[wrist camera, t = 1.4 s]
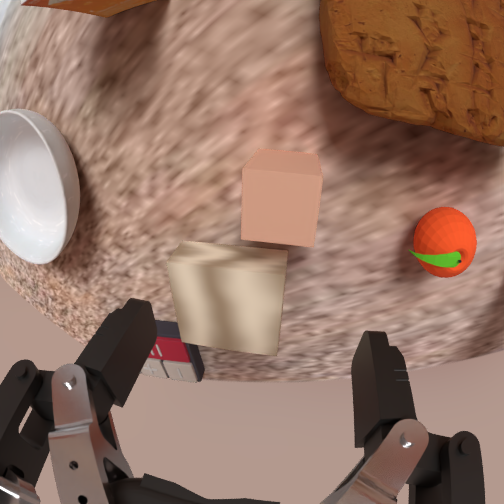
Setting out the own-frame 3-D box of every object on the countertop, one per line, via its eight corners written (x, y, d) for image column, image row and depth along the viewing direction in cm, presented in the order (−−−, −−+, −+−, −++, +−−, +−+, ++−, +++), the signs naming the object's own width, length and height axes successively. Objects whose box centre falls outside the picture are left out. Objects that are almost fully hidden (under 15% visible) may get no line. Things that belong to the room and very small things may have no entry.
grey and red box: (200, 386, 42) (121, 373, 44) (206, 365, 46) (130, 356, 48) (184, 340, 37) (96, 329, 39) (192, 319, 41) (108, 312, 43)
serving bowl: (22, 233, 38) (-4, 254, 32) (2, 113, 27) (-31, 125, 21) (111, 250, 36) (82, 279, 30) (95, 88, 25) (53, 94, 19)
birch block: (288, 248, 32) (285, 275, 27) (280, 327, 38) (276, 356, 33) (183, 239, 33) (166, 262, 29) (193, 316, 39) (181, 341, 35)
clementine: (394, 257, 29) (411, 297, 23) (397, 198, 26) (420, 229, 20) (454, 252, 28) (479, 289, 22) (462, 195, 24) (495, 224, 18)
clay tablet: (506, 13, 12) (548, 6, 5) (506, 150, 20) (550, 172, 13) (313, -47, 15) (315, -87, 8) (315, 108, 23) (321, 112, 17)
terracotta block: (317, 154, 26) (323, 176, 19) (311, 207, 28) (313, 247, 22) (258, 148, 26) (242, 168, 19) (256, 202, 29) (241, 239, 22)
